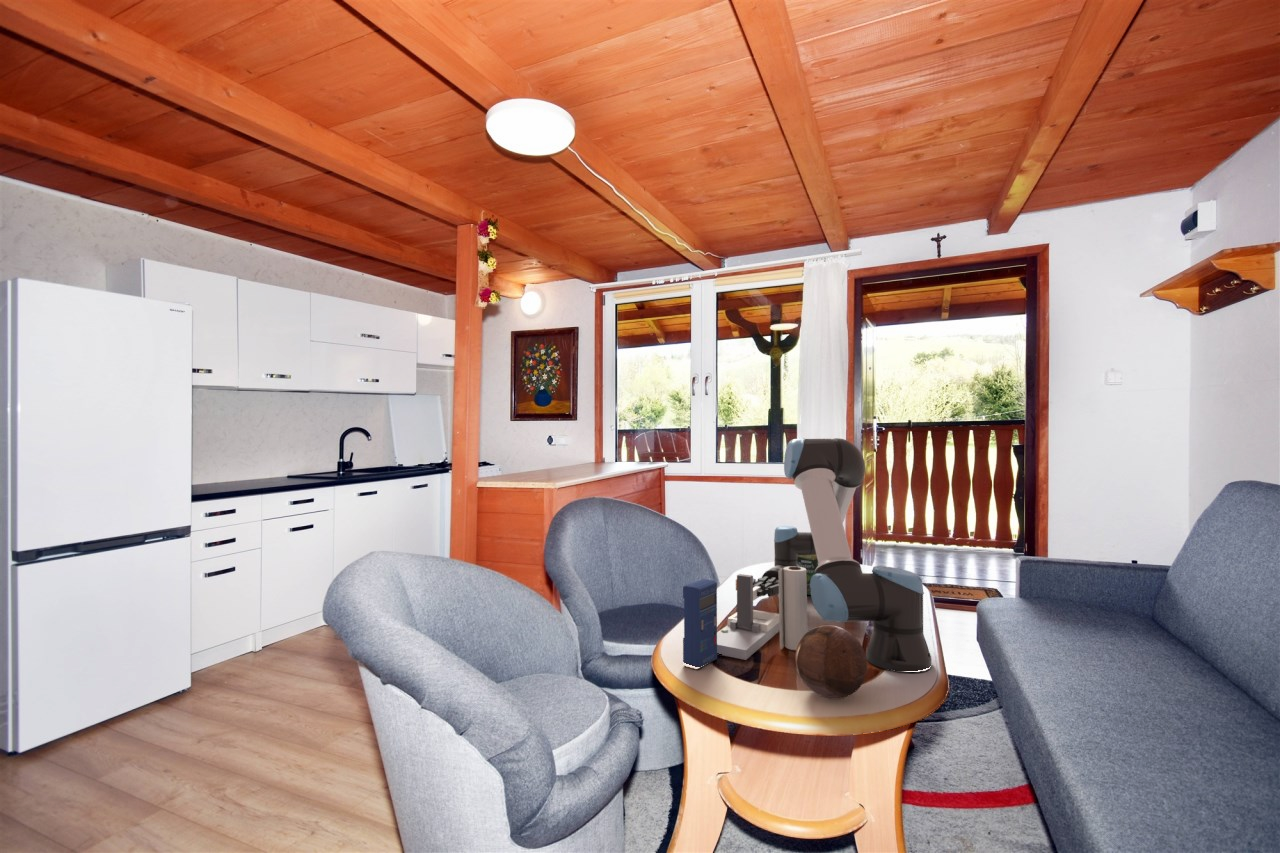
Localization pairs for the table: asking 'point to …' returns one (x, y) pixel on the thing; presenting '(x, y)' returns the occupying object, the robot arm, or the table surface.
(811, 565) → the coffee jar
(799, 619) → the paper towel roll
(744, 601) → the breaker lever
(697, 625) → the electronic device
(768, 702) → the table surface
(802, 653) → the wooden sphere
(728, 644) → the board
